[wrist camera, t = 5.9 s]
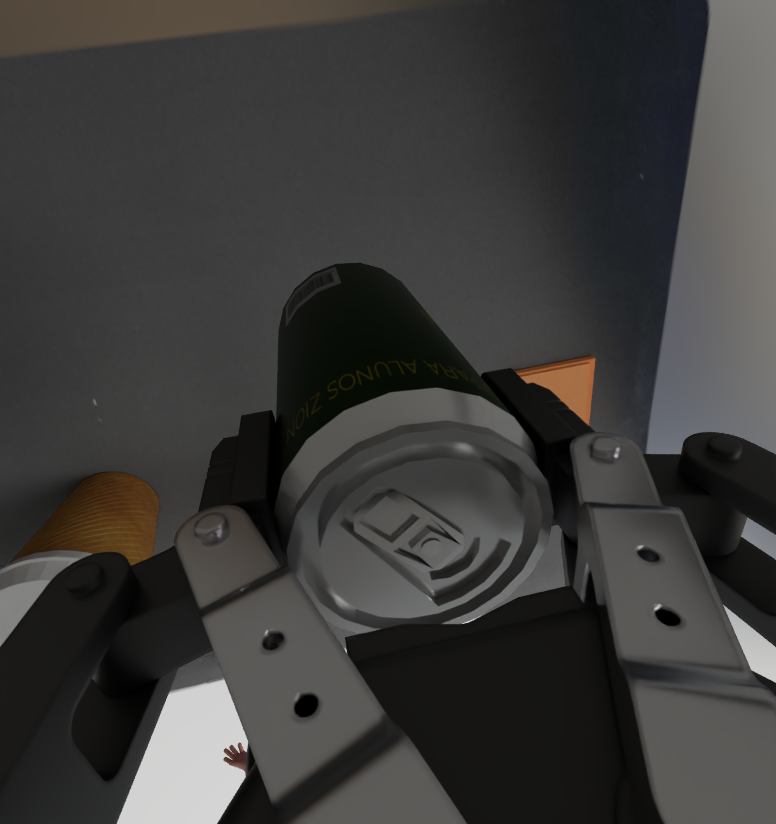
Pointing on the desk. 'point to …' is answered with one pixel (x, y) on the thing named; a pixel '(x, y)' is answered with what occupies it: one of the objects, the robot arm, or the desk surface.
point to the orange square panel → (566, 382)
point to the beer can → (396, 462)
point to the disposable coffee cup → (80, 538)
